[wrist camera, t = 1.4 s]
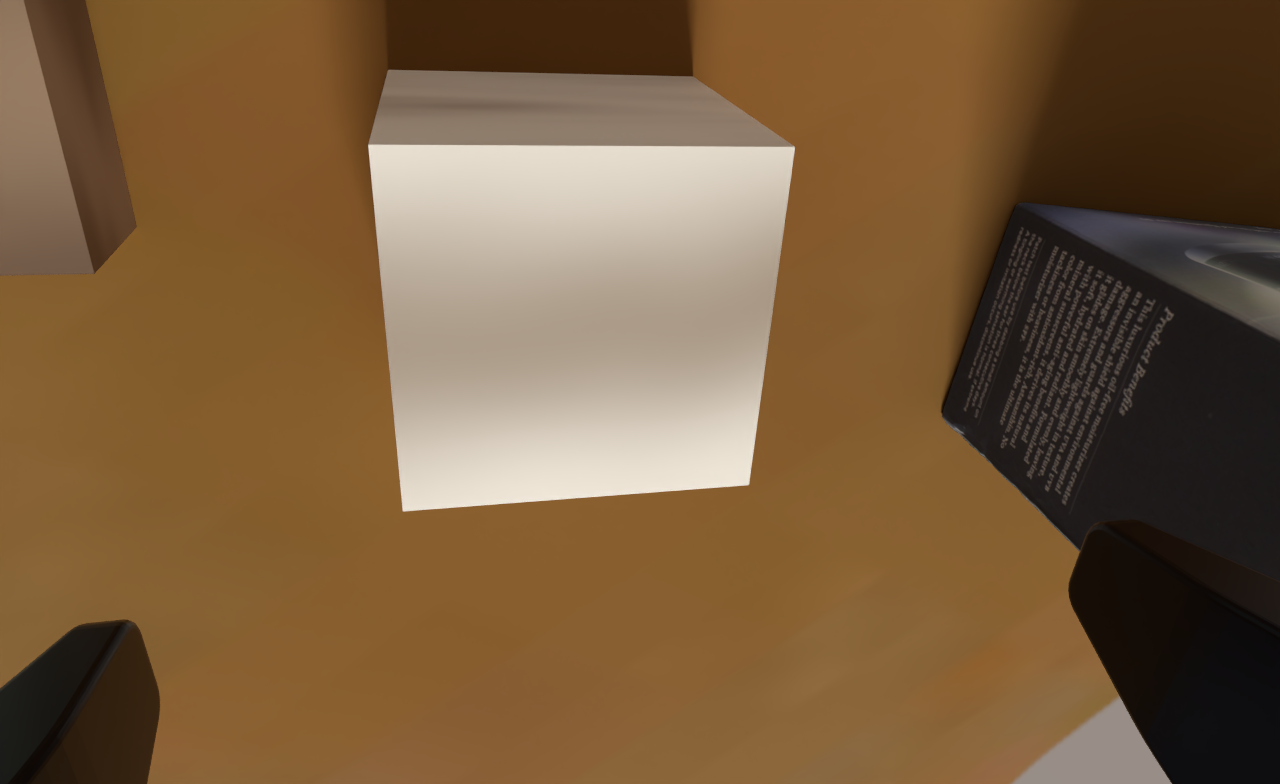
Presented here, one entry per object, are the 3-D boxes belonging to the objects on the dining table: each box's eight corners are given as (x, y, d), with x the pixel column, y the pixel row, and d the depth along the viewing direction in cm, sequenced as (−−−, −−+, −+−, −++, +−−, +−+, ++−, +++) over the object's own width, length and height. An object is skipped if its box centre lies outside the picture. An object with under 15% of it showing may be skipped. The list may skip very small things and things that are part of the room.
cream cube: (671, 340, 21) (748, 484, 16) (411, 351, 20) (402, 511, 15) (691, 75, 18) (795, 147, 13) (388, 69, 17) (368, 144, 12)
